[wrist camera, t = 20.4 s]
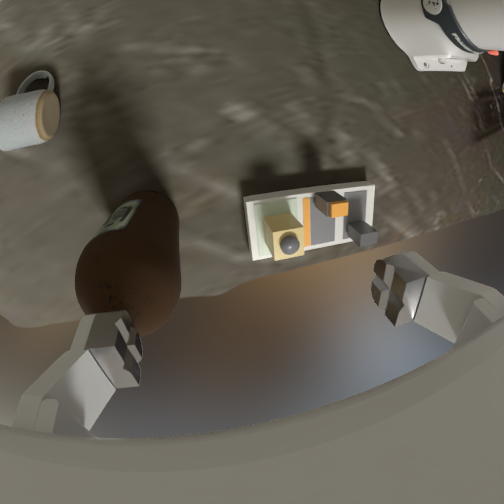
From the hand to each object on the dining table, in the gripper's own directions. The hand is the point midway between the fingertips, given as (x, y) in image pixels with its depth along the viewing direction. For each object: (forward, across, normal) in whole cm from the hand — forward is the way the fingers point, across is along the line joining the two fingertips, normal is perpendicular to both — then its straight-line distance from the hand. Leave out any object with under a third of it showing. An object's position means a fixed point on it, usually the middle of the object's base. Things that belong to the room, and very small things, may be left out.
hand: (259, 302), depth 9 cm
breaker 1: (+29, -15, +8) cm, 33 cm away
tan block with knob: (+28, -8, +11) cm, 32 cm away
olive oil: (+31, +10, +8) cm, 34 cm away
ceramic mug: (+31, +23, -13) cm, 41 cm away
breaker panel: (+31, -14, +11) cm, 36 cm away
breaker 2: (+29, -20, +13) cm, 38 cm away
